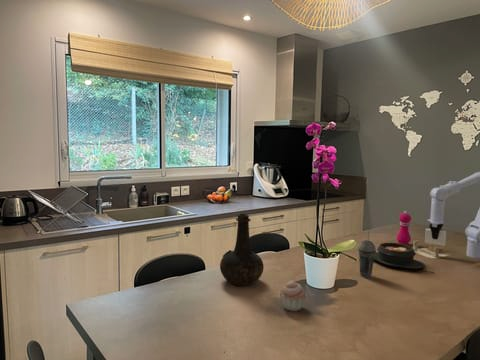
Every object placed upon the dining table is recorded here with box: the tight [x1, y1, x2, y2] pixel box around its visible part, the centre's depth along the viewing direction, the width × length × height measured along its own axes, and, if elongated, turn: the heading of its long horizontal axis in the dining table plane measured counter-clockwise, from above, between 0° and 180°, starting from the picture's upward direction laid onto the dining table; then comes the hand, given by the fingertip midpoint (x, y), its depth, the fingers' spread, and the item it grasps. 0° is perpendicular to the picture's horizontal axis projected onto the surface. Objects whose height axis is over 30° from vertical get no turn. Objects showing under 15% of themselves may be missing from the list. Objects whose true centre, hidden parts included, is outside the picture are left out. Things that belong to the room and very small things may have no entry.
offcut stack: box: [427, 245, 443, 253], centre depth 192 cm, size 4×6×2 cm
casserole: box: [374, 242, 425, 270], centre depth 175 cm, size 25×19×8 cm
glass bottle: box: [219, 213, 264, 287], centre depth 149 cm, size 18×18×28 cm
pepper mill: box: [396, 210, 412, 246], centre depth 204 cm, size 7×7×20 cm
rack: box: [412, 240, 451, 260], centre depth 190 cm, size 15×14×6 cm
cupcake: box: [279, 279, 307, 312], centre depth 128 cm, size 9×9×10 cm
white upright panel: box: [424, 228, 447, 247], centre depth 185 cm, size 2×9×7 cm, turn 55°
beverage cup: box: [358, 229, 377, 279], centre depth 158 cm, size 7×7×20 cm
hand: (435, 238), depth 185 cm, fingers closed on white upright panel, 2 cm apart
